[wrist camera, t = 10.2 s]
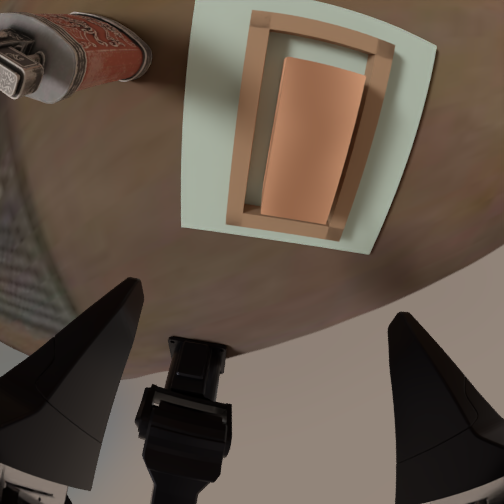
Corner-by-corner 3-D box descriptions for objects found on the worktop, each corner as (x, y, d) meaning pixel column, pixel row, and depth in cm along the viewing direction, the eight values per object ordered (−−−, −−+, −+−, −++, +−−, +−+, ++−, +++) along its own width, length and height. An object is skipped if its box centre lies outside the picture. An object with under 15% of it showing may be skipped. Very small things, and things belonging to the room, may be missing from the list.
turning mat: (367, 251, 20) (373, 264, 19) (182, 223, 20) (176, 236, 19) (433, 46, 10) (447, 46, 9) (199, -9, 10) (191, -15, 9)
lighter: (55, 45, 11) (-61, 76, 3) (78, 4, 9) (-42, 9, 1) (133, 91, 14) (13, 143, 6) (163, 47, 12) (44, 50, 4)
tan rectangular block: (346, 72, 12) (366, 75, 10) (317, 194, 17) (325, 224, 14) (284, 58, 12) (287, 56, 9) (262, 185, 17) (260, 214, 14)
